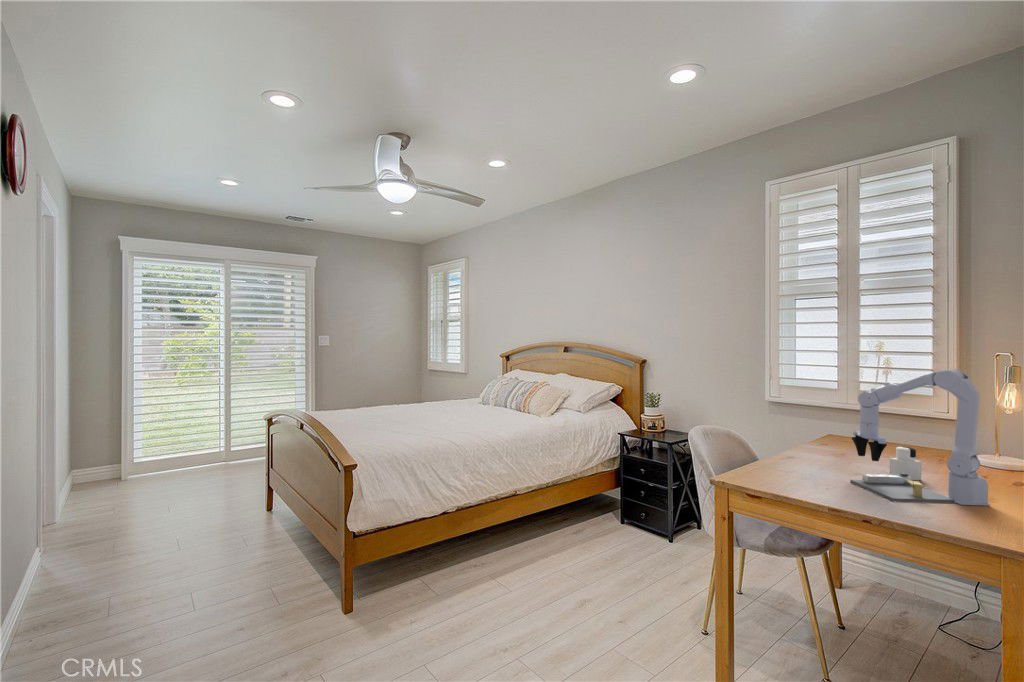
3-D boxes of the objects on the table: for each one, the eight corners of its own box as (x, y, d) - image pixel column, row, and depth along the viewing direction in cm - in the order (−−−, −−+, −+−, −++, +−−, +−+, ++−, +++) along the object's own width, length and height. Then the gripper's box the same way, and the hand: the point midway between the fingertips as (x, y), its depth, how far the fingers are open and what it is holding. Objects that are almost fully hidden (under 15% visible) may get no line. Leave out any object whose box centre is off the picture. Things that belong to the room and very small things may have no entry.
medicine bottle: (901, 474, 194) (902, 444, 193) (921, 479, 187) (922, 448, 187) (889, 476, 191) (889, 445, 191) (908, 481, 184) (909, 449, 184)
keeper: (906, 491, 169) (907, 479, 169) (918, 492, 168) (918, 480, 168) (912, 496, 164) (912, 483, 163) (924, 497, 162) (924, 485, 162)
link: (905, 481, 180) (905, 474, 180) (913, 484, 176) (914, 477, 176) (861, 480, 181) (861, 473, 181) (869, 483, 177) (869, 476, 177)
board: (904, 483, 182) (904, 471, 182) (954, 502, 161) (954, 488, 161) (850, 482, 182) (850, 470, 182) (892, 501, 161) (893, 487, 161)
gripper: (845, 419, 192) (845, 453, 192) (872, 426, 177) (871, 463, 178) (863, 419, 192) (863, 453, 192) (891, 426, 177) (890, 463, 177)
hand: (868, 458), depth 185 cm, fingers open, 7 cm apart
